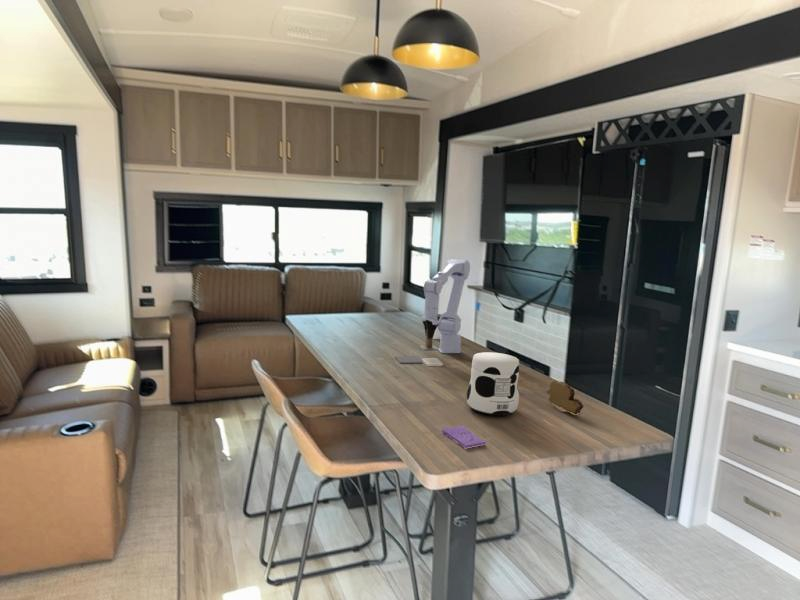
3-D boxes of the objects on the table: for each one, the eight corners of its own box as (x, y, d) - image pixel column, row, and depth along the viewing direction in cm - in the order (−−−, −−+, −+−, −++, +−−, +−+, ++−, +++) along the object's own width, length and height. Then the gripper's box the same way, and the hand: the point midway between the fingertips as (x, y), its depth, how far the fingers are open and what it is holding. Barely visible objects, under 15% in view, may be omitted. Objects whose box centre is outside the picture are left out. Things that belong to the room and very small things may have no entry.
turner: (435, 347, 241) (436, 328, 239) (439, 350, 235) (440, 331, 234) (420, 347, 239) (421, 328, 238) (423, 350, 233) (425, 331, 232)
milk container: (482, 397, 192) (486, 348, 189) (526, 410, 181) (531, 359, 178) (455, 409, 179) (459, 357, 176) (501, 424, 168) (506, 368, 165)
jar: (426, 336, 285) (427, 314, 283) (439, 335, 289) (441, 313, 287) (434, 340, 277) (436, 317, 275) (448, 339, 281) (449, 316, 279)
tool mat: (416, 357, 241) (416, 356, 241) (422, 363, 231) (422, 362, 231) (394, 357, 239) (394, 356, 239) (400, 363, 229) (400, 362, 229)
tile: (436, 358, 238) (443, 363, 230) (436, 361, 238) (442, 367, 230) (421, 358, 236) (427, 364, 228) (421, 361, 237) (427, 367, 228)
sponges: (465, 451, 148) (465, 444, 148) (441, 433, 159) (441, 427, 158) (485, 447, 151) (486, 441, 151) (460, 430, 162) (461, 424, 162)
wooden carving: (586, 418, 177) (589, 389, 175) (575, 420, 175) (579, 391, 173) (550, 402, 191) (553, 375, 190) (541, 403, 189) (543, 376, 188)
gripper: (418, 304, 242) (416, 333, 244) (427, 310, 228) (425, 341, 230) (433, 304, 243) (431, 333, 245) (443, 310, 229) (440, 341, 232)
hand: (429, 337), depth 238 cm, fingers closed on turner, 2 cm apart
